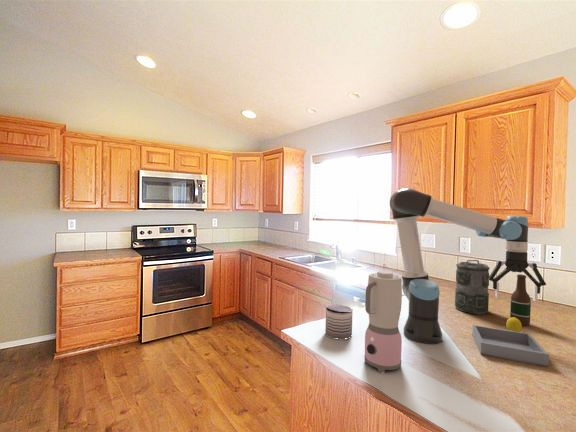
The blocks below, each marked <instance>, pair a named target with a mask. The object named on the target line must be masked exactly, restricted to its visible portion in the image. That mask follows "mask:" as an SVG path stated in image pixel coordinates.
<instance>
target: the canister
mask: <svg viewBox="0 0 576 432" xmlns="http://www.w3.org/2000/svg"><path fill="white" fill-rule="evenodd" d="M475 262H477V263H475ZM455 266H456V271H455V282H456V287H455V293H454V307H455V308H456V310H458V311H461V312H462V313H470V314H473V315H485V314H486V313H488V312H489V303H490V302H489V299H490V293H489V286H490V280H489V279H488V277H489V276H490V273H489V270H490V268H491V267H489V266H488V265H487V264H486V263H485V264H484V263H481V262H480V261H479V260H478V259H468V260H466V261H461V262H458V263H456V265H455Z"/></svg>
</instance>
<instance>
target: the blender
mask: <svg viewBox="0 0 576 432" xmlns="http://www.w3.org/2000/svg"><path fill="white" fill-rule="evenodd" d="M367 279H368V280H367V281H368V282H367V286H366V287H365V312H366V313H367V315H368V320H369V323H368V325H367V328H366V330H365V334H364V364H368V365H370V366H371V367H373V368H376V369H377V372H378V371H380V372H379V373H382V372H385V373H386V371H387V370H388V371H390V370H391V371H392V370H397V369H399V368H401V366H402V347H403V346H402V342H403V341H402V340H403V339H402V334H401V332H400V330H399V322H400V318H401V313H402V304H403V303H402V302H403V299H402V297H403V289H402V285H403V280H402V276H399V275H396V274H394V273H393V272H392V271H388V270H378V271H377V272H375V273H370V274H368V278H367Z"/></svg>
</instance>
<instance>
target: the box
mask: <svg viewBox="0 0 576 432" xmlns="http://www.w3.org/2000/svg"><path fill="white" fill-rule="evenodd" d="M471 327H472V330H471V331H472V332H471V334H472V335H471V336H472V338H473V339H474V342H475V345H476V347H477V349H478V351H479V353H480V355H483V356H487V357H491V358H498V359H503V360H508V361H513V362H520V363H525V364H529V365H535V366H541V367H545V368H549V358H550V357H549V356H550V355H549V353H548V352H547V351H546V350H545V349H544V348H543V346H541V345H540V343H539V342H538V341H537V340H536V339H535V338H534V337H533V335H532V334H530V333H528V332H522V331H521V332H516V331H510V330H507V329H502V328H496V327H495V328H494V327H491V326H490V327H489V326H482V325H476V324H472V326H471Z"/></svg>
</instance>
